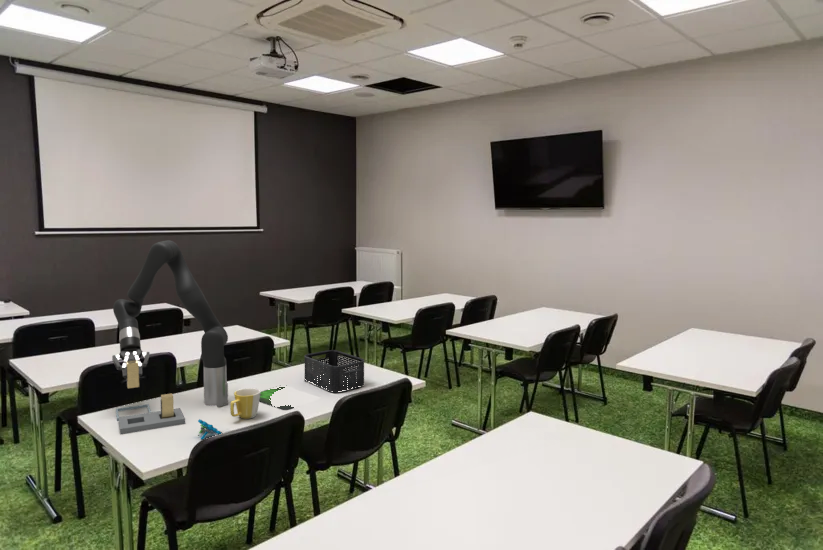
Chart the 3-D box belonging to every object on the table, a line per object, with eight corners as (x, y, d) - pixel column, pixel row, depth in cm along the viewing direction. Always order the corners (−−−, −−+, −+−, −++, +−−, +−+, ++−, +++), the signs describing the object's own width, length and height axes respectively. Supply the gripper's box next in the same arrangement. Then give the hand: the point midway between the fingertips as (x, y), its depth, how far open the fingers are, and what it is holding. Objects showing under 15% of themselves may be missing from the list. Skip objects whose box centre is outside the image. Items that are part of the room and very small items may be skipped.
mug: (251, 410, 223) (251, 386, 222) (265, 416, 217) (265, 391, 216) (221, 419, 212) (221, 393, 211) (236, 425, 206) (236, 399, 205)
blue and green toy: (227, 434, 194) (207, 420, 189) (217, 448, 191) (196, 434, 186) (215, 429, 202) (195, 415, 197) (205, 443, 199) (184, 429, 194)
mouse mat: (323, 398, 241) (323, 396, 241) (286, 412, 223) (286, 409, 223) (282, 386, 256) (282, 384, 256) (245, 398, 238) (245, 395, 238)
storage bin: (301, 380, 266) (301, 354, 264) (333, 373, 279) (333, 348, 278) (334, 395, 245) (334, 367, 244) (367, 386, 258) (367, 360, 257)
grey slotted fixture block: (180, 414, 215) (180, 407, 215) (185, 426, 204) (185, 418, 204) (118, 424, 204) (118, 417, 204) (120, 436, 193) (120, 429, 193)
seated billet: (172, 417, 210) (171, 393, 209) (173, 421, 206) (173, 396, 205) (160, 419, 208) (160, 395, 206) (161, 423, 204) (161, 398, 203)
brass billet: (138, 384, 215) (137, 360, 214) (139, 386, 211) (138, 362, 210) (126, 385, 213) (125, 361, 211) (127, 388, 209) (126, 363, 208)
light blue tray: (148, 408, 222) (148, 403, 221) (151, 418, 211) (151, 413, 211) (115, 413, 215) (115, 408, 215) (117, 423, 205) (117, 418, 205)
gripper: (110, 337, 213) (112, 374, 204) (149, 334, 220) (153, 369, 211) (110, 347, 218) (112, 384, 209) (148, 343, 225) (152, 379, 216)
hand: (132, 376), depth 210 cm, fingers closed on brass billet, 4 cm apart
